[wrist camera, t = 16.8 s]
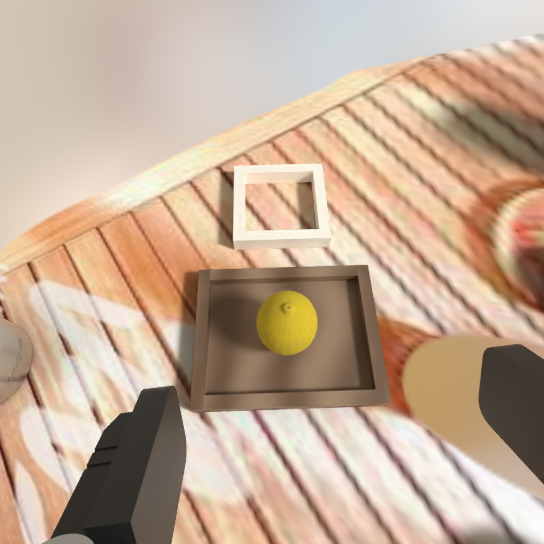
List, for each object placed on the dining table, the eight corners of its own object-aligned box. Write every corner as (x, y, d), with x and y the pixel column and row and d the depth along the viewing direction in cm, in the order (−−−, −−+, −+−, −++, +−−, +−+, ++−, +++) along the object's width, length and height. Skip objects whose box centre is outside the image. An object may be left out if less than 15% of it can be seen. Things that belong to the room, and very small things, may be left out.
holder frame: (234, 249, 42) (232, 240, 41) (235, 177, 47) (234, 166, 45) (328, 247, 42) (331, 237, 41) (320, 174, 47) (321, 163, 46)
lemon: (258, 364, 36) (254, 341, 28) (258, 311, 38) (254, 277, 31) (314, 363, 36) (325, 339, 28) (311, 309, 38) (320, 276, 31)
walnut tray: (194, 412, 34) (189, 409, 33) (202, 278, 41) (199, 270, 39) (385, 405, 35) (391, 402, 33) (363, 273, 41) (367, 264, 39)
